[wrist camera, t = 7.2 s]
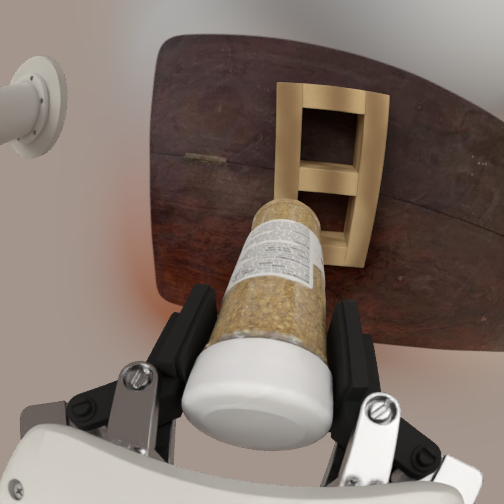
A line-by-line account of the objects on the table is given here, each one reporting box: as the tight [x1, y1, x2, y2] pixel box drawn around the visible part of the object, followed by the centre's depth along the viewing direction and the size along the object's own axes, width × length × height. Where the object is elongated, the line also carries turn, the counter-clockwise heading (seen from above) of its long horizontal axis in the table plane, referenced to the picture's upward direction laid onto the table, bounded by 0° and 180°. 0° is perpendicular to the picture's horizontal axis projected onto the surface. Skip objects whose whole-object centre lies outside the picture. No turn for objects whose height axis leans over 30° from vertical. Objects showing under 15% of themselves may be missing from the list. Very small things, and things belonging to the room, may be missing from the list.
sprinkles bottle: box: [182, 199, 333, 451], centre depth 13 cm, size 5×5×13 cm
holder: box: [274, 82, 390, 268], centre depth 29 cm, size 11×20×4 cm, turn 0°
